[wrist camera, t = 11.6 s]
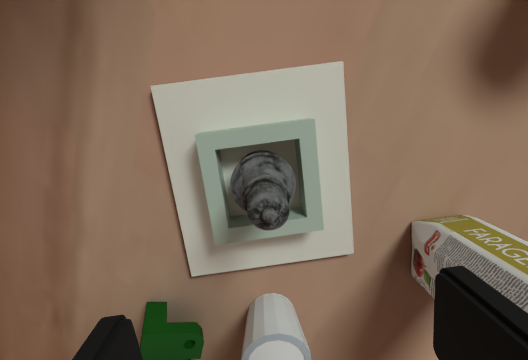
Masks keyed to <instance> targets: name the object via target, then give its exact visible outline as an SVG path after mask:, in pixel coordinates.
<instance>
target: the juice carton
mask: <svg viewBox="0 0 528 360" xmlns="http://www.w3.org/2000/svg"><path fill="white" fill-rule="evenodd" d="M411 236H412V258H411V274H412V276H413V277H414V278H415V280H416V281H417V282H418V283H419V284H420V285H421V286H422V287H423V288H424V289H425V290H426V291H427V292H428V293H429V294H430V295H431V296H432V297H433V298H434V299H435V276H436V275H437V274H439V271H440V270H441V269H442V268H447V267H454V266H464V267H466V268H467V269H468V270H470V271H471V272H473V273H474V274H475V275H477V276H478V277H479V278H481V279H482V280H483V281H485V282H486V283H487V284H489V285H490V286H492V287H493V288H494V289H496V290H497V291H498V292H500V293H501V294H502V295H504V296H505V297H506V298H508V299H509V300H511V301H512V302H513V303H515V304H516V305H517V306H519V307H520V308H521V309H523V310H524V311H525V312H527V313H528V242H527V241H525V240H522V239H520V238H518V237H516V236H514V235H512V234H510V233H508V232H506V231H504V230H501V229H499V228H497V227H495V226H493V225H491V224H489V223H487V222H485V221H482V220H480V219H478V218H475V217H472V216H467V215H459V216H452V217H444V218H436V219H429V220H421V221H415V222H412V233H411Z"/></svg>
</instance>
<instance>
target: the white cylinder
mask: <svg viewBox="0 0 528 360" xmlns="http://www.w3.org/2000/svg"><path fill="white" fill-rule="evenodd" d="M241 360H311V353H310V350H309V347H308V344H307V342H306V339H305V336H304V334H303V331H302V328H301V325H300V323H299V320H298V317H297V315H296V312H295V309H294V306H293V305H292V303H291V302H290V300H289V299H287V298H286V297H284V296H283V295H280V294H275V293H270V294H264V295H262V296H260V297H258V298H256V299H255V300H254V301H253V302H252V303H251V305H250V306H249V310H248V314H247V321H246V328H245V335H244V343H243V350H242V357H241Z"/></svg>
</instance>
